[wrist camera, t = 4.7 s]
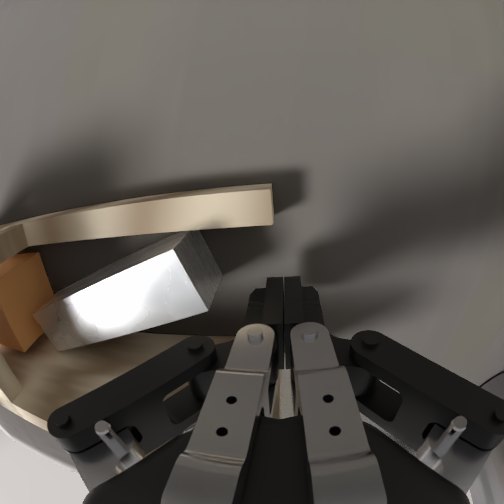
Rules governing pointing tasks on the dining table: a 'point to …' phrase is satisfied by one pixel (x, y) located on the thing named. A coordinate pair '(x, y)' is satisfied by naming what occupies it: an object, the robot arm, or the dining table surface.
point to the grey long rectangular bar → (134, 293)
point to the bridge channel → (127, 346)
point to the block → (22, 299)
